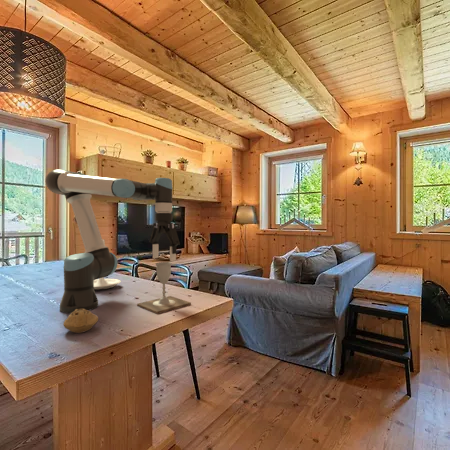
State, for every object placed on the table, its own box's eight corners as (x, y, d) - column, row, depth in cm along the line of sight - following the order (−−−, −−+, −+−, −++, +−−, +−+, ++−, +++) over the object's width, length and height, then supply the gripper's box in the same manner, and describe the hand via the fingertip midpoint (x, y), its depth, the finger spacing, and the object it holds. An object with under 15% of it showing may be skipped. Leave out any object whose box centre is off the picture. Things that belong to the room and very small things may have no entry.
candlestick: (68, 289, 161) (67, 238, 160) (112, 282, 178) (111, 237, 177) (80, 296, 146) (79, 241, 145) (127, 288, 163) (126, 238, 162)
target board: (157, 314, 119) (157, 311, 119) (137, 305, 130) (137, 303, 130) (190, 304, 132) (190, 302, 132) (170, 297, 143) (170, 295, 143)
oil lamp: (89, 320, 112) (89, 299, 112) (103, 331, 101) (102, 308, 101) (57, 327, 105) (57, 305, 105) (68, 340, 94) (68, 315, 94)
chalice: (156, 305, 127) (155, 264, 126) (155, 301, 133) (155, 262, 133) (172, 304, 129) (172, 264, 128) (171, 300, 135) (171, 261, 135)
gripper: (188, 212, 124) (187, 261, 125) (155, 213, 141) (155, 256, 142) (173, 212, 119) (173, 263, 119) (141, 212, 136) (142, 257, 136)
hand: (164, 259), depth 131 cm, fingers open, 13 cm apart
